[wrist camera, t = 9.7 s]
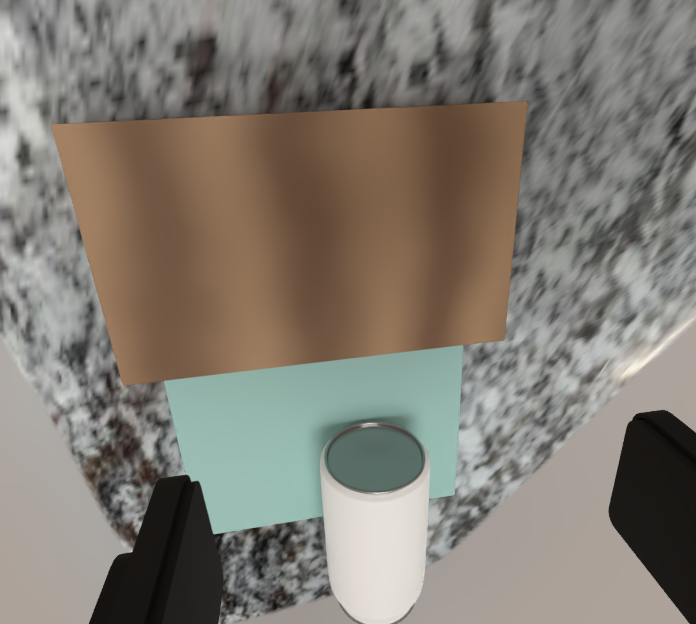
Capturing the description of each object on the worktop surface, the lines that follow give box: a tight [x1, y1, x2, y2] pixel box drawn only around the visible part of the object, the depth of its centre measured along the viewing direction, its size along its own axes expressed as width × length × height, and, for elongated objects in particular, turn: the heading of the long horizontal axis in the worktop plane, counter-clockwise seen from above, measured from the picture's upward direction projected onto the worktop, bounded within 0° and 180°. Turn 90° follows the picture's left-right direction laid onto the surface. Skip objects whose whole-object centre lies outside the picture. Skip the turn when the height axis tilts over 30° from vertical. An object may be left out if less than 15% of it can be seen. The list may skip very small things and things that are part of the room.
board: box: [51, 101, 528, 386], centre depth 24 cm, size 20×12×4 cm, turn 92°
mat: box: [164, 345, 464, 534], centre depth 30 cm, size 18×14×1 cm
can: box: [320, 421, 430, 624], centre depth 30 cm, size 6×6×12 cm
